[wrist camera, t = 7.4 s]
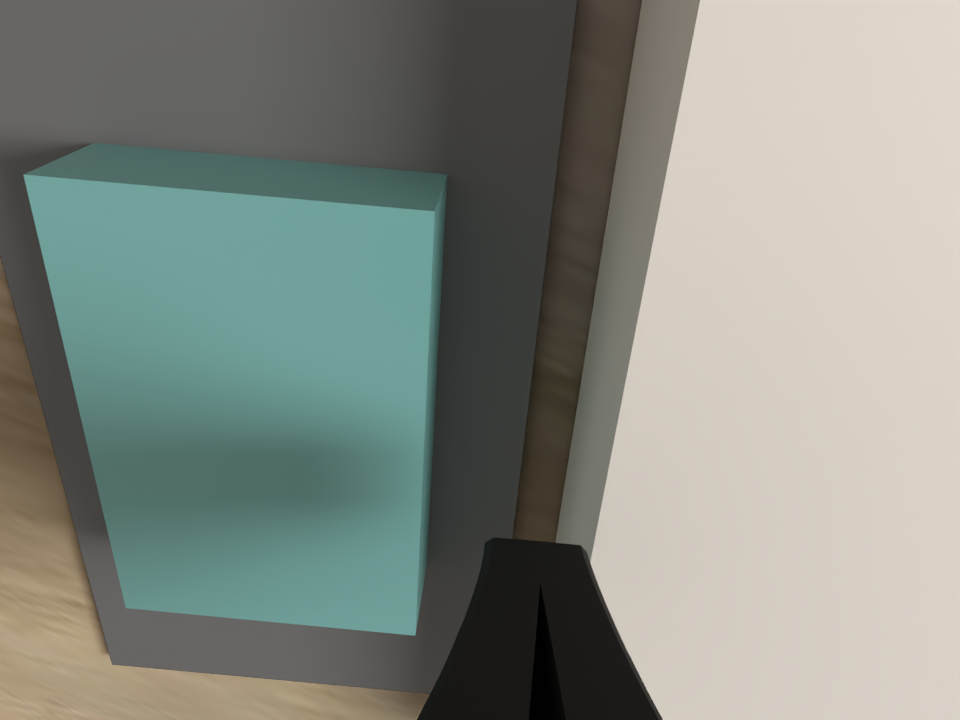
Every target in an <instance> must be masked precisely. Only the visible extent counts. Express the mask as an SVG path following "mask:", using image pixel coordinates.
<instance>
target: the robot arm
mask: <svg viewBox="0 0 960 720" xmlns="http://www.w3.org/2000/svg"><path fill="white" fill-rule="evenodd" d="M417 720H663V719H662V717H661V715H660V713H659V711H658V710H657V708H656V706H655V704H654V702H653V700H652V698H651V697H650V695H649V693H648V691H647V689H646V687H645V685H644V683H643V681H642V679H641V677H640V675H639V673H638V671H637V669H636V667H635V665H634V663H633V661H632V659H631V657H630V655H629V653H628V651H627V649H626V647H625V645H624V643H623V641H622V639H621V636H620V634H619V632H618V630H617V628H616V626H615V623H614V621H613V619H612V616H611V614H610V612H609V610H608V607H607V605H606V603H605V600H604V598H603V595H602V593H601V590H600V588H599V585H598V583H597V580H596V577H595V575H594V572H593V569H592V566H591V563H590V560H589V557H588V554H587V552H586V551H585V550H584V548H583V547H582V546H581V545H574V544H563V543H552V542H541V541H530V540H518V539H507V538H496V537H493V538H492V539H490V540H488V541H487V542H485V545H484V554H483V560H482V564H481V568H480V572H479V576H478V580H477V583H476V586H475V590H474V593H473V595H472V598H471V601H470V604H469V607H468V610H467V612H466V615H465V618H464V620H463V623H462V625H461V627H460V630H459V632H458V634H457V637H456V639H455V642H454V644H453V646H452V649H451V651H450V653H449V656H448V658H447V660H446V663H445V665H444V667H443V669H442V671H441V673H440V675H439V677H438V679H437V681H436V683H435V685H434V687H433V689H432V691H431V693H430V695H429V697H428V699H427V701H426V703H425V705H424V707H423V709H422V711H421V713H420V715H419V717H418V719H417Z"/></svg>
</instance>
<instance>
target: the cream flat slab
mask: <svg viewBox="0 0 960 720" xmlns="http://www.w3.org/2000/svg"><path fill="white" fill-rule="evenodd" d="M555 543H563V544H574V545H581V546H582V547H583V548H584V550H585V551H586V552H587V554H588V557H589V560H590V563H591V566H592V569H593V572H594V575H595V577H596V580H597V583H598V585H599V588H600V590H601V593H602V595H603V598H604V600H605V603H606V605H607V607H608V610H609V612H610V614H611V616H612V619H613V621H614V623H615V626H616V628H617V630H618V632H619V634H620V636H621V639H622V641H623V643H624V645H625V647H626V649H627V651H628V653H629V655H630V657H631V659H632V661H633V663H634V665H635V667H636V669H637V671H638V673H639V675H640V677H641V679H642V681H643V683H644V685H645V687H646V689H647V691H648V693H649V695H650V697H651V698H652V700H653V702H654V704H655V706H656V708H657V710H658V711H659V713H660V715H661V717H662V719H663V720H960V0H642V4H641V10H640V16H639V22H638V29H637V35H636V41H635V47H634V54H633V60H632V66H631V72H630V79H629V85H628V91H627V97H626V104H625V110H624V116H623V122H622V129H621V135H620V141H619V147H618V154H617V160H616V166H615V172H614V179H613V185H612V191H611V197H610V204H609V210H608V216H607V222H606V229H605V235H604V241H603V247H602V254H601V260H600V266H599V272H598V279H597V285H596V291H595V297H594V303H593V310H592V316H591V322H590V328H589V335H588V341H587V347H586V353H585V360H584V366H583V372H582V378H581V385H580V391H579V397H578V403H577V410H576V416H575V422H574V428H573V435H572V441H571V447H570V453H569V460H568V466H567V472H566V478H565V485H564V491H563V497H562V503H561V510H560V516H559V522H558V528H557V535H556V541H555Z"/></svg>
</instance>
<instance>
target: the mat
mask: <svg viewBox="0 0 960 720" xmlns="http://www.w3.org/2000/svg"><path fill="white" fill-rule="evenodd" d="M576 6H577V0H0V256H1V259H2V263H3V267H4V270H5V274H6V278H7V281H8V285H9V289H10V292H11V296H12V300H13V303H14V307H15V311H16V314H17V318H18V322H19V325H20V329H21V333H22V336H23V340H24V344H25V347H26V351H27V355H28V358H29V362H30V366H31V369H32V373H33V377H34V380H35V384H36V388H37V391H38V395H39V399H40V402H41V406H42V410H43V413H44V417H45V421H46V424H47V428H48V432H49V435H50V439H51V443H52V446H53V450H54V454H55V457H56V461H57V465H58V468H59V472H60V475H61V479H62V483H63V486H64V490H65V494H66V497H67V501H68V505H69V508H70V512H71V516H72V519H73V523H74V527H75V530H76V534H77V538H78V541H79V545H80V549H81V552H82V556H83V560H84V563H85V567H86V571H87V574H88V578H89V582H90V585H91V589H92V593H93V596H94V600H95V604H96V607H97V611H98V615H99V618H100V622H101V626H102V629H103V633H104V637H105V640H106V644H107V648H108V651H109V655H110V659H111V662H112V665H123V666H134V667H145V668H156V669H166V670H177V671H188V672H199V673H210V674H221V675H231V676H242V677H253V678H264V679H275V680H286V681H297V682H307V683H318V684H329V685H340V686H351V687H362V688H372V689H383V690H394V691H405V692H416V693H427V694H430V693H431V691H432V689H433V687H434V685H435V683H436V681H437V679H438V677H439V675H440V673H441V671H442V669H443V667H444V665H445V663H446V660H447V658H448V656H449V653H450V651H451V649H452V646H453V644H454V642H455V639H456V637H457V634H458V632H459V630H460V627H461V625H462V623H463V620H464V618H465V615H466V612H467V610H468V607H469V604H470V601H471V598H472V595H473V593H474V590H475V586H476V583H477V580H478V576H479V572H480V568H481V564H482V560H483V554H484V545H485V542H487V541H488V540H490V539H492V538H493V537H496V538H507V539H512V537H513V529H514V520H515V512H516V504H517V496H518V487H519V479H520V471H521V462H522V454H523V446H524V438H525V429H526V421H527V413H528V404H529V396H530V388H531V379H532V371H533V363H534V355H535V346H536V338H537V330H538V321H539V313H540V305H541V297H542V288H543V280H544V272H545V263H546V255H547V247H548V239H549V230H550V222H551V214H552V205H553V197H554V189H555V181H556V172H557V164H558V156H559V147H560V139H561V131H562V123H563V114H564V106H565V98H566V89H567V81H568V73H569V65H570V56H571V48H572V40H573V31H574V23H575V15H576ZM93 143H101V144H112V145H124V146H135V147H146V148H157V149H168V150H180V151H191V152H202V153H213V154H225V155H236V156H247V157H258V158H270V159H281V160H292V161H303V162H315V163H326V164H337V165H348V166H359V167H371V168H382V169H393V170H404V171H416V172H427V173H438V174H447V191H446V210H445V229H444V248H443V267H442V286H441V305H440V324H439V343H438V362H437V381H436V400H435V419H434V438H433V457H432V476H431V495H430V513H429V532H428V551H427V566H426V573H425V579H424V585H423V591H422V598H421V604H420V610H419V616H418V623H417V629H416V635H415V636H413V635H403V634H392V633H382V632H371V631H361V630H350V629H340V628H329V627H319V626H308V625H298V624H287V623H277V622H266V621H256V620H245V619H235V618H224V617H214V616H204V615H193V614H183V613H172V612H162V611H151V610H141V609H130V608H126V607H125V603H124V599H123V594H122V590H121V586H120V582H119V577H118V573H117V569H116V565H115V561H114V556H113V552H112V548H111V544H110V539H109V535H108V531H107V527H106V522H105V518H104V514H103V510H102V506H101V501H100V497H99V493H98V489H97V484H96V480H95V476H94V472H93V467H92V463H91V459H90V455H89V450H88V446H87V442H86V438H85V434H84V429H83V425H82V421H81V417H80V412H79V408H78V404H77V400H76V395H75V391H74V387H73V383H72V379H71V374H70V370H69V366H68V362H67V357H66V353H65V349H64V345H63V340H62V336H61V332H60V328H59V324H58V319H57V315H56V311H55V307H54V302H53V298H52V294H51V290H50V285H49V281H48V277H47V273H46V269H45V264H44V260H43V256H42V252H41V247H40V243H39V239H38V235H37V230H36V226H35V222H34V218H33V214H32V209H31V205H30V201H29V197H28V192H27V188H26V184H25V180H24V175H23V174H26V173H28V172H30V171H32V170H35V169H37V168H39V167H41V166H44V165H46V164H48V163H50V162H53V161H55V160H57V159H59V158H62V157H64V156H66V155H68V154H70V153H73V152H75V151H77V150H79V149H82V148H84V147H86V146H88V145H91V144H93Z"/></svg>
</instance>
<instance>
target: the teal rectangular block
mask: <svg viewBox="0 0 960 720" xmlns="http://www.w3.org/2000/svg"><path fill="white" fill-rule="evenodd" d="M23 175H24V180H25V184H26V188H27V192H28V197H29V201H30V205H31V209H32V214H33V218H34V222H35V226H36V230H37V235H38V239H39V243H40V247H41V252H42V256H43V260H44V264H45V269H46V273H47V277H48V281H49V285H50V290H51V294H52V298H53V302H54V307H55V311H56V315H57V319H58V324H59V328H60V332H61V336H62V340H63V345H64V349H65V353H66V357H67V362H68V366H69V370H70V374H71V379H72V383H73V387H74V391H75V395H76V400H77V404H78V408H79V412H80V417H81V421H82V425H83V429H84V434H85V438H86V442H87V446H88V450H89V455H90V459H91V463H92V467H93V472H94V476H95V480H96V484H97V489H98V493H99V497H100V501H101V506H102V510H103V514H104V518H105V522H106V527H107V531H108V535H109V539H110V544H111V548H112V552H113V556H114V561H115V565H116V569H117V573H118V577H119V582H120V586H121V590H122V594H123V599H124V603H125V607H126V608H130V609H141V610H151V611H162V612H172V613H183V614H193V615H204V616H214V617H224V618H235V619H245V620H256V621H266V622H277V623H287V624H298V625H308V626H319V627H329V628H340V629H350V630H361V631H371V632H382V633H392V634H403V635H413V636H415V635H416V629H417V623H418V616H419V610H420V604H421V598H422V591H423V585H424V579H425V573H426V566H427V551H428V532H429V513H430V495H431V476H432V457H433V438H434V419H435V400H436V381H437V362H438V343H439V324H440V305H441V286H442V267H443V248H444V229H445V210H446V191H447V174H438V173H427V172H416V171H404V170H393V169H382V168H371V167H359V166H348V165H337V164H326V163H315V162H303V161H292V160H281V159H270V158H258V157H247V156H236V155H225V154H213V153H202V152H191V151H180V150H168V149H157V148H146V147H135V146H124V145H112V144H101V143H93V144H91V145H88V146H86V147H84V148H82V149H79V150H77V151H75V152H73V153H70V154H68V155H66V156H64V157H62V158H59V159H57V160H55V161H53V162H50V163H48V164H46V165H44V166H41V167H39V168H37V169H35V170H32V171H30V172H28V173H26V174H23Z"/></svg>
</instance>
